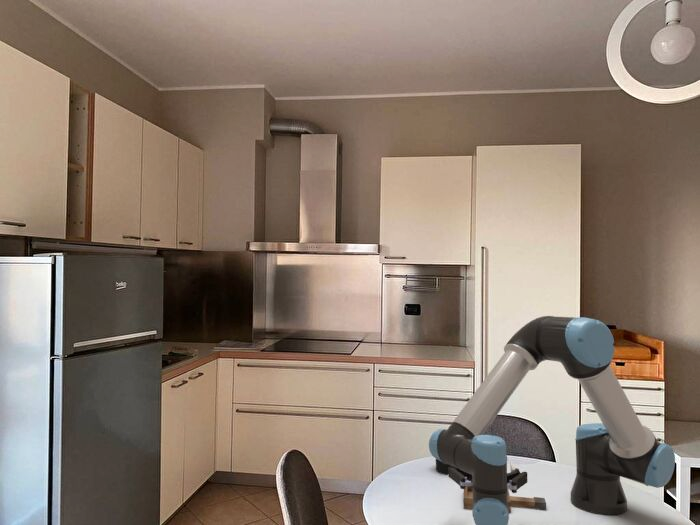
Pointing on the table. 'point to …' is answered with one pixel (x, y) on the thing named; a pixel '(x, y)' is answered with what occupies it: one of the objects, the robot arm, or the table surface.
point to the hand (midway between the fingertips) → (486, 465)
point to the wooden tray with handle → (512, 501)
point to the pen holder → (442, 467)
